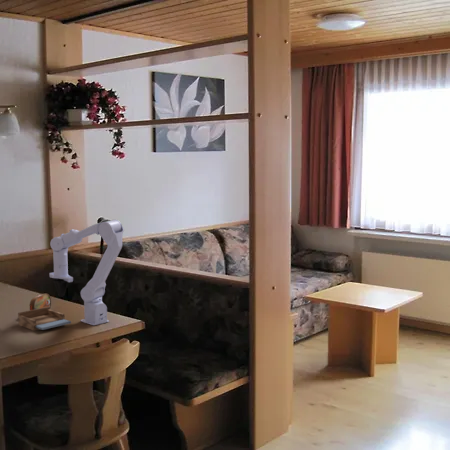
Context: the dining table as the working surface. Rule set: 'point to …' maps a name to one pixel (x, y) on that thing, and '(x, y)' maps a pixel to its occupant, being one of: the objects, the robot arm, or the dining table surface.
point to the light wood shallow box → (38, 317)
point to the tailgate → (53, 324)
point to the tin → (40, 301)
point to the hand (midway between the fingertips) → (61, 296)
